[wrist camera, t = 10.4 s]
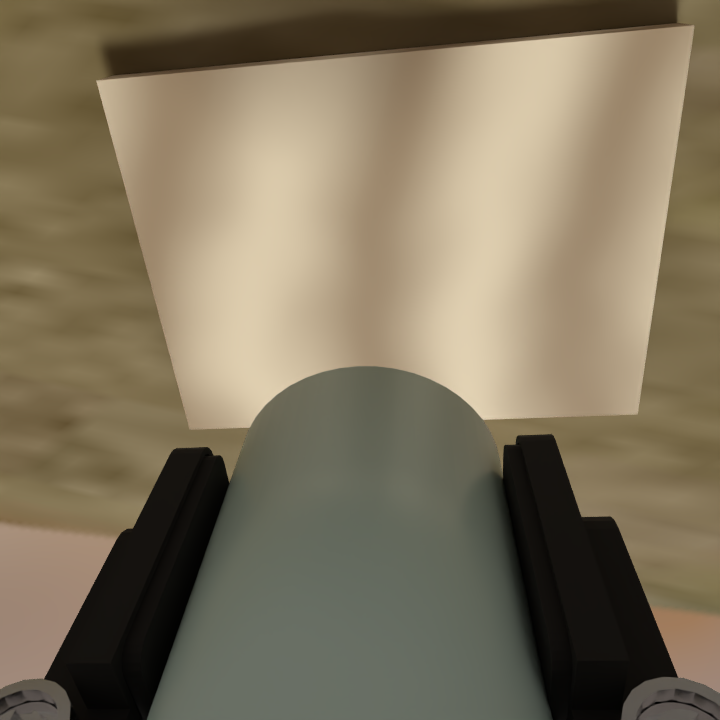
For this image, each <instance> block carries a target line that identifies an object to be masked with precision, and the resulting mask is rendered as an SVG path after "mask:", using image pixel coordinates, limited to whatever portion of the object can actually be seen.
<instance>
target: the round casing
mask: <svg viewBox="0 0 720 720" xmlns="http://www.w3.org/2000/svg"><path fill="white" fill-rule="evenodd" d="M147 720H553V718H552V714H551V710H550V707H549V704H548V699H547V694H546V689H545V684H544V679H543V674H542V669H541V664H540V659H539V654H538V649H537V644H536V640H535V635H534V630H533V625H532V620H531V615H530V610H529V605H528V600H527V595H526V590H525V585H524V580H523V576H522V571H521V566H520V561H519V556H518V551H517V546H516V541H515V536H514V531H513V526H512V521H511V516H510V512H509V507H508V502H507V497H506V492H505V487H504V482H503V473H502V468H501V463H500V459H499V454H498V450H497V446H496V444H495V441H494V439H493V436H492V434H491V432H490V430H489V429H488V427H487V426H486V424H485V422H484V421H483V419H482V418H481V417H480V416H479V415H478V413H477V412H476V411H475V410H474V409H473V408H472V407H471V406H470V405H469V404H468V403H467V402H466V401H464V400H463V399H462V398H461V397H460V396H458V395H457V394H455V393H454V392H452V391H451V390H449V389H448V388H447V387H445V386H443V385H441V384H439V383H437V382H435V381H433V380H431V379H428V378H426V377H423V376H420V375H417V374H415V373H411V372H407V371H403V370H399V369H394V368H386V367H378V366H355V367H345V368H338V369H333V370H329V371H324V372H321V373H318V374H315V375H312V376H309V377H307V378H304V379H302V380H300V381H298V382H296V383H294V384H292V385H290V386H289V387H287V388H286V389H284V390H283V391H282V392H280V393H279V394H277V395H276V396H275V397H274V398H273V399H272V400H270V401H269V402H268V403H267V404H266V405H265V406H264V407H263V409H262V410H261V411H260V412H259V414H258V415H257V416H256V418H255V419H254V421H253V423H252V425H251V426H250V428H249V430H248V433H247V435H246V438H245V441H244V444H243V446H242V449H241V452H240V455H239V458H238V461H237V464H236V466H235V469H234V472H233V475H232V478H231V481H230V483H229V486H228V489H227V492H226V495H225V498H224V501H223V503H222V506H221V509H220V512H219V515H218V518H217V521H216V523H215V526H214V529H213V532H212V535H211V538H210V540H209V543H208V546H207V549H206V552H205V555H204V558H203V560H202V563H201V566H200V569H199V572H198V575H197V578H196V580H195V583H194V586H193V589H192V592H191V595H190V598H189V600H188V603H187V606H186V609H185V612H184V615H183V617H182V620H181V623H180V626H179V629H178V632H177V635H176V637H175V640H174V643H173V646H172V649H171V652H170V655H169V657H168V660H167V663H166V666H165V669H164V672H163V674H162V677H161V680H160V683H159V686H158V689H157V692H156V694H155V697H154V700H153V703H152V706H151V709H150V712H149V714H148V717H147Z"/></svg>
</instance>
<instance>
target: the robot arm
mask: <svg viewBox="0 0 720 720" xmlns="http://www.w3.org/2000/svg"><path fill="white" fill-rule="evenodd" d="M503 482H504V487H505V492H506V497H507V502H508V507H509V512H510V516H511V521H512V526H513V531H514V536H515V541H516V546H517V551H518V556H519V561H520V566H521V571H522V576H523V580H524V585H525V590H526V595H527V600H528V605H529V610H530V615H531V620H532V625H533V630H534V635H535V640H536V644H537V649H538V654H539V659H540V664H541V669H542V674H543V679H544V684H545V689H546V694H547V699H548V704H549V707H550V710H551V714H552V718H553V720H720V693H718V692H716V691H715V690H713V689H711V688H709V687H707V686H706V685H704V684H700V683H697V682H694V681H691V680H688V679H685V678H678V676H677V674H676V671H675V669H674V666H673V664H672V661H671V658H670V656H669V653H668V651H667V648H666V646H665V644H664V641H663V638H662V636H661V633H660V631H659V629H658V626H657V623H656V621H655V618H654V616H653V613H652V611H651V608H650V606H649V603H648V601H647V598H646V596H645V593H644V591H643V588H642V586H641V583H640V581H639V578H638V576H637V573H636V571H635V568H634V566H633V563H632V561H631V558H630V556H629V553H628V551H627V548H626V546H625V543H624V541H623V538H622V536H621V533H620V531H619V528H618V526H617V524H616V522H615V520H614V519H613V518H612V517H581V515H580V512H579V509H578V506H577V503H576V500H575V497H574V494H573V491H572V488H571V485H570V482H569V479H568V476H567V473H566V470H565V467H564V464H563V461H562V458H561V455H560V452H559V449H558V446H557V443H556V440H555V438H554V436H553V435H552V434H547V435H520V436H517V438H516V445H505V446H504V454H503ZM228 486H229V481H228V476H227V472H226V468H225V464H224V461H223V458H222V457H221V456H220V455H217V456H213V454H212V451H211V450H210V448H208V447H199V448H176V449H174V450H173V451H172V452H171V454H170V456H169V458H168V460H167V462H166V464H165V466H164V468H163V470H162V472H161V474H160V476H159V478H158V480H157V482H156V484H155V486H154V488H153V490H152V492H151V494H150V496H149V498H148V500H147V502H146V504H145V506H144V508H143V510H142V512H141V514H140V516H139V518H138V520H137V522H136V524H135V526H134V528H133V529H126V530H125V531H123V532H122V533H121V534H120V536H119V537H118V539H117V540H116V542H115V544H114V546H113V548H112V550H111V552H110V554H109V555H108V557H107V559H106V561H105V563H104V565H103V567H102V569H101V571H100V573H99V575H98V577H97V579H96V580H95V582H94V584H93V586H92V588H91V590H90V592H89V594H88V596H87V598H86V600H85V602H84V603H83V605H82V608H81V609H80V611H79V613H78V615H77V617H76V619H75V621H74V623H73V625H72V627H71V628H70V630H69V632H68V634H67V636H66V638H65V640H64V642H63V644H62V646H61V648H60V650H59V652H58V653H57V655H56V657H55V659H54V661H53V663H52V665H51V667H50V669H49V671H48V673H47V675H46V676H45V678H44V679H29V680H23V681H20V682H17V683H14V684H11V685H8V686H5V687H3V688H2V689H0V720H147V717H148V714H149V712H150V709H151V706H152V703H153V700H154V697H155V694H156V692H157V689H158V686H159V683H160V680H161V677H162V674H163V672H164V669H165V666H166V663H167V660H168V657H169V655H170V652H171V649H172V646H173V643H174V640H175V637H176V635H177V632H178V629H179V626H180V623H181V620H182V617H183V615H184V612H185V609H186V606H187V603H188V600H189V598H190V595H191V592H192V589H193V586H194V583H195V580H196V578H197V575H198V572H199V569H200V566H201V563H202V560H203V558H204V555H205V552H206V549H207V546H208V543H209V540H210V538H211V535H212V532H213V529H214V526H215V523H216V521H217V518H218V515H219V512H220V509H221V506H222V503H223V501H224V498H225V495H226V492H227V489H228Z"/></svg>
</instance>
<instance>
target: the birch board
mask: <svg viewBox="0 0 720 720" xmlns="http://www.w3.org/2000/svg"><path fill="white" fill-rule="evenodd" d="M694 26H695V25H689V24H681V23H673V24H662V25H651V26H640V27H630V28H619V29H608V30H597V31H587V32H576V33H565V34H555V35H544V36H533V37H522V38H512V39H501V40H490V41H479V42H469V43H458V44H447V45H436V46H426V47H415V48H404V49H393V50H383V51H372V52H361V53H351V54H340V55H329V56H318V57H308V58H297V59H286V60H275V61H265V62H254V63H243V64H232V65H222V66H211V67H200V68H189V69H179V70H168V71H157V72H146V73H136V74H125V75H114V76H110V77H107V78H104V79H100V80H97V85H98V88H99V92H100V96H101V100H102V103H103V107H104V111H105V114H106V118H107V122H108V126H109V129H110V133H111V137H112V141H113V144H114V148H115V152H116V156H117V159H118V163H119V167H120V171H121V174H122V178H123V182H124V185H125V189H126V193H127V197H128V200H129V204H130V208H131V212H132V215H133V219H134V223H135V227H136V230H137V234H138V238H139V242H140V245H141V249H142V253H143V256H144V260H145V264H146V268H147V271H148V275H149V279H150V283H151V286H152V290H153V294H154V298H155V301H156V305H157V309H158V313H159V316H160V320H161V324H162V328H163V331H164V335H165V339H166V342H167V346H168V350H169V354H170V357H171V361H172V365H173V369H174V372H175V376H176V380H177V384H178V387H179V391H180V395H181V399H182V402H183V406H184V410H185V413H186V417H187V421H188V425H189V428H190V429H219V428H249V427H250V426H251V425H252V423H253V421H254V419H255V418H256V416H257V415H258V414H259V412H260V411H261V410H262V409H263V407H264V406H265V405H266V404H267V403H268V402H269V401H270V400H272V399H273V398H274V397H275V396H276V395H277V394H279V393H280V392H282V391H283V390H284V389H286V388H287V387H289V386H290V385H292V384H294V383H296V382H298V381H300V380H302V379H304V378H307V377H309V376H312V375H315V374H318V373H321V372H324V371H329V370H333V369H338V368H345V367H355V366H378V367H386V368H394V369H399V370H403V371H407V372H411V373H415V374H417V375H420V376H423V377H426V378H428V379H431V380H433V381H435V382H437V383H439V384H441V385H443V386H445V387H447V388H448V389H449V390H451V391H452V392H454V393H455V394H457V395H458V396H460V397H461V398H462V399H463V400H464V401H466V402H467V403H468V404H469V405H470V406H471V407H472V408H473V409H474V410H475V411H476V412H477V413H478V415H479V416H480V417H481V418H482V419H483V420H485V419H515V418H544V417H574V416H603V415H633V414H638V408H639V401H640V394H641V387H642V381H643V374H644V367H645V360H646V353H647V346H648V340H649V333H650V326H651V319H652V312H653V306H654V299H655V292H656V285H657V278H658V271H659V265H660V258H661V251H662V244H663V237H664V231H665V224H666V217H667V210H668V203H669V196H670V190H671V183H672V176H673V169H674V162H675V156H676V149H677V142H678V135H679V128H680V121H681V115H682V108H683V101H684V94H685V87H686V81H687V74H688V67H689V60H690V53H691V46H692V40H693V33H694Z"/></svg>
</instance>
